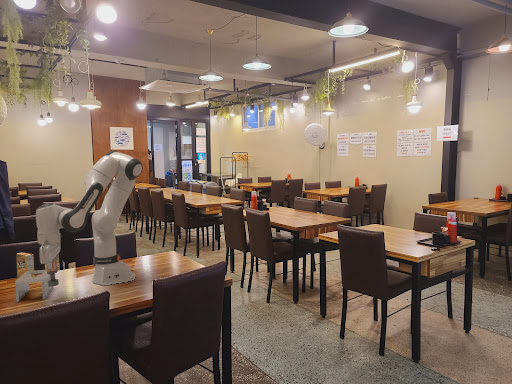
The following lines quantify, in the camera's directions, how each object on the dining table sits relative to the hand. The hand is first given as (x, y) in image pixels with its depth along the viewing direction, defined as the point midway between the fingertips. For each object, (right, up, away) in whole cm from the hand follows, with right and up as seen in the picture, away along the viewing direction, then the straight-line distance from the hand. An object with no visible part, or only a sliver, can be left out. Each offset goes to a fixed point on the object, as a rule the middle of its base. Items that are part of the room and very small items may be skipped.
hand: (51, 267), depth 166 cm
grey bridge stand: (-13, -16, +9) cm, 22 cm away
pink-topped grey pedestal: (0, -9, +1) cm, 9 cm away
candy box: (-30, -14, +28) cm, 43 cm away
